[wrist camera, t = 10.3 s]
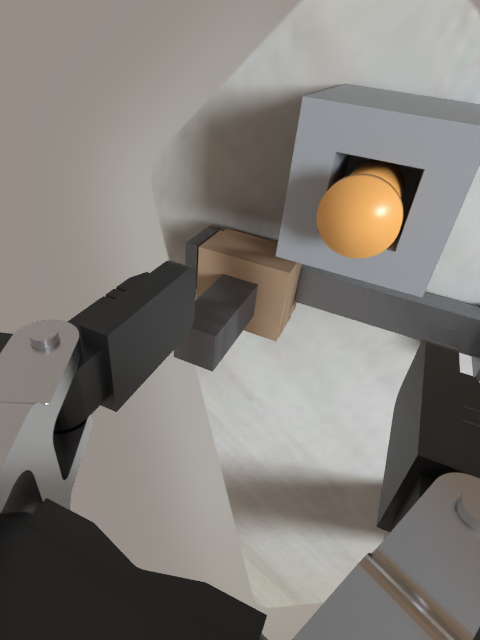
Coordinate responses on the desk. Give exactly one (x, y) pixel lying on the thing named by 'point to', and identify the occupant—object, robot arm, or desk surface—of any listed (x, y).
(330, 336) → the desk surface
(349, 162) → the button housing
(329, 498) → the desk surface
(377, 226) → the button
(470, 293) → the desk surface
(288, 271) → the carriage
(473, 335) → the rail
